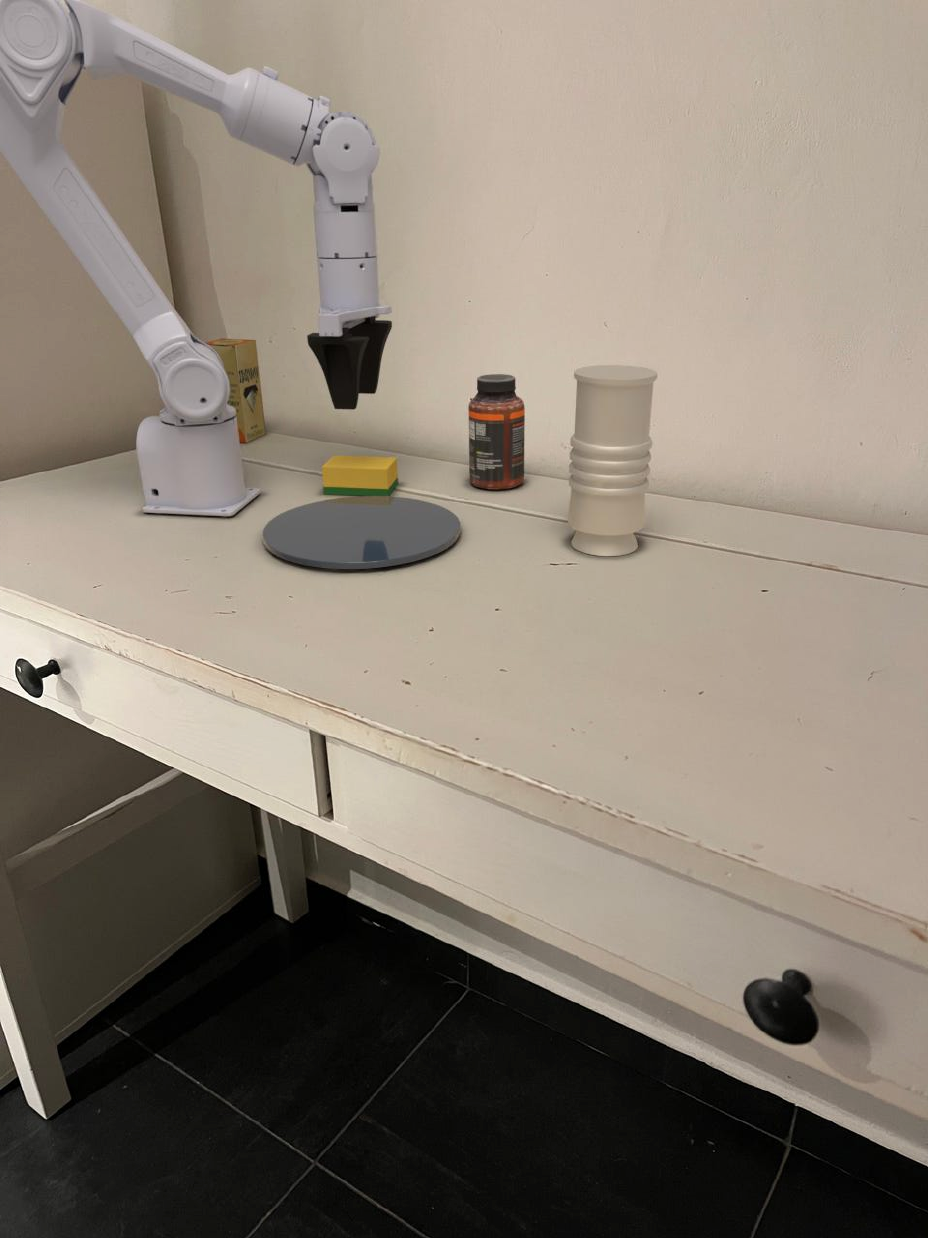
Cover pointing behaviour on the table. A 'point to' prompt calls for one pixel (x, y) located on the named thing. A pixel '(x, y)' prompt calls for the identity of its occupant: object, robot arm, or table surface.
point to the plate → (361, 532)
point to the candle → (610, 457)
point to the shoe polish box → (243, 385)
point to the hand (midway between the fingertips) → (356, 400)
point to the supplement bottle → (496, 434)
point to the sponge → (360, 476)
